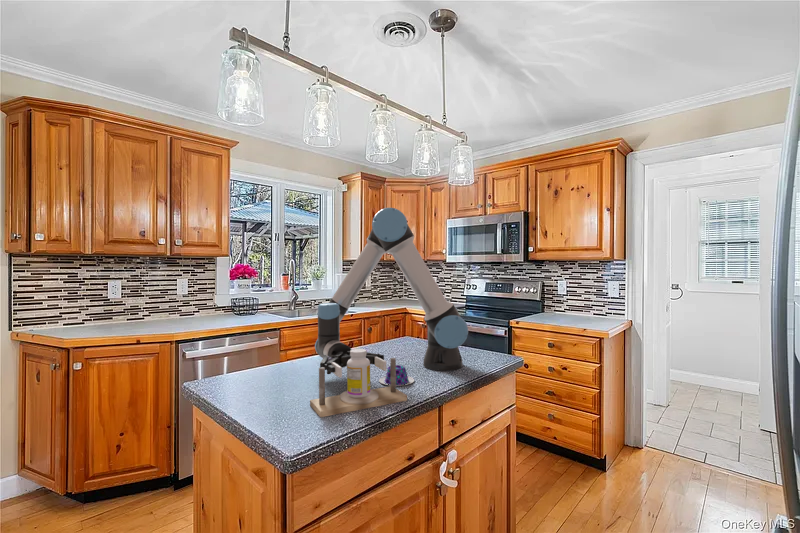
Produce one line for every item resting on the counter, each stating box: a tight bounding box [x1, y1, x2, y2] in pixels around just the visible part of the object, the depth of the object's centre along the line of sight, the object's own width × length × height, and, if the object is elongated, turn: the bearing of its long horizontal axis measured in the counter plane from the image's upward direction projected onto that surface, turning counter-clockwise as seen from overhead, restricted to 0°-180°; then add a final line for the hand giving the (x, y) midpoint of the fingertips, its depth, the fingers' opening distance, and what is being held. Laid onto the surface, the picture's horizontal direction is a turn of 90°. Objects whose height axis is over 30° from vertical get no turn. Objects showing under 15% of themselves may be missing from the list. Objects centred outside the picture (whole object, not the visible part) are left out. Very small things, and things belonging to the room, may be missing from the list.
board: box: [309, 357, 408, 418], centre depth 114 cm, size 26×11×12 cm, turn 118°
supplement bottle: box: [346, 348, 371, 398], centre depth 114 cm, size 7×7×13 cm
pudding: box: [378, 364, 415, 387], centre depth 135 cm, size 12×12×5 cm
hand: (363, 369), depth 111 cm, fingers open, 13 cm apart
